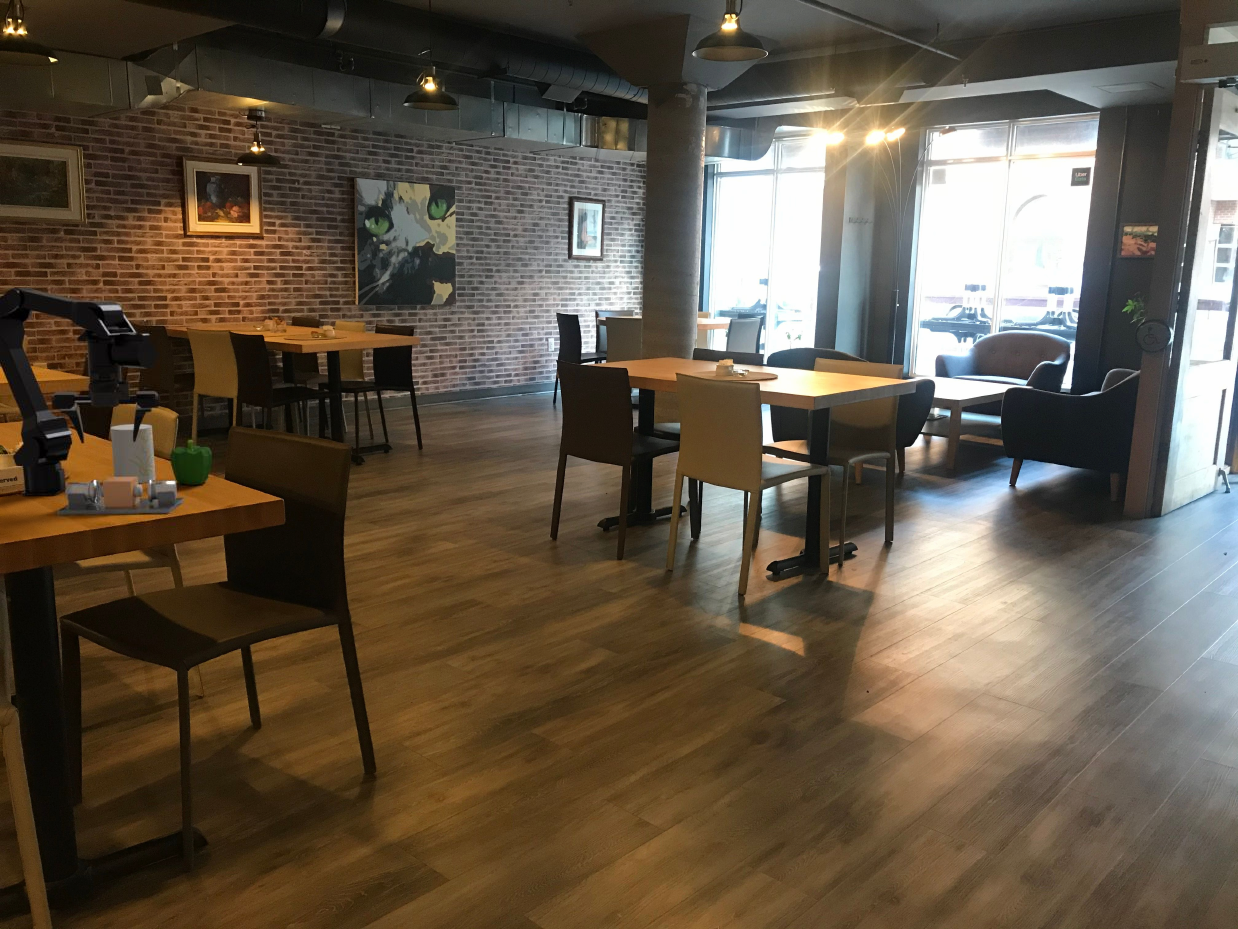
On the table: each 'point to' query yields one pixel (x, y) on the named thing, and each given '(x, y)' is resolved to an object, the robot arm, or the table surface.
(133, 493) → the coupler
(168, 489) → the shaft
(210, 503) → the table surface
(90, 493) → the bench
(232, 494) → the table surface
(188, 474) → the bell pepper
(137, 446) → the cup
